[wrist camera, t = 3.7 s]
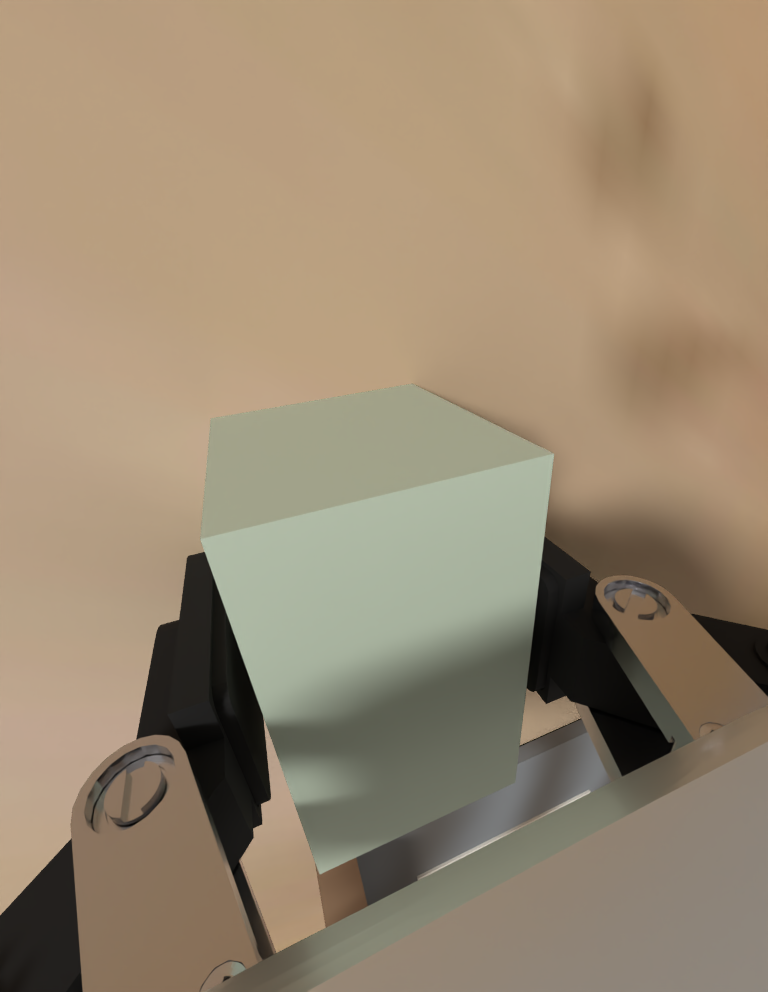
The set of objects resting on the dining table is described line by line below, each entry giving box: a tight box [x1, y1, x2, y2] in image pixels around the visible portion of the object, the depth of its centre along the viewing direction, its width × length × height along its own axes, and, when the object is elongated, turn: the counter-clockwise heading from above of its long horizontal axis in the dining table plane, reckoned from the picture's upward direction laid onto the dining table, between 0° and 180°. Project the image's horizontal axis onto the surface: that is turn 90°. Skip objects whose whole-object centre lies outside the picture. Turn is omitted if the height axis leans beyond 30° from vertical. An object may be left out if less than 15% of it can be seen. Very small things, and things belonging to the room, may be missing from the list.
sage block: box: [200, 384, 554, 874], centre depth 9 cm, size 4×8×5 cm, turn 5°
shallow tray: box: [315, 719, 611, 928], centre depth 21 cm, size 20×18×4 cm
